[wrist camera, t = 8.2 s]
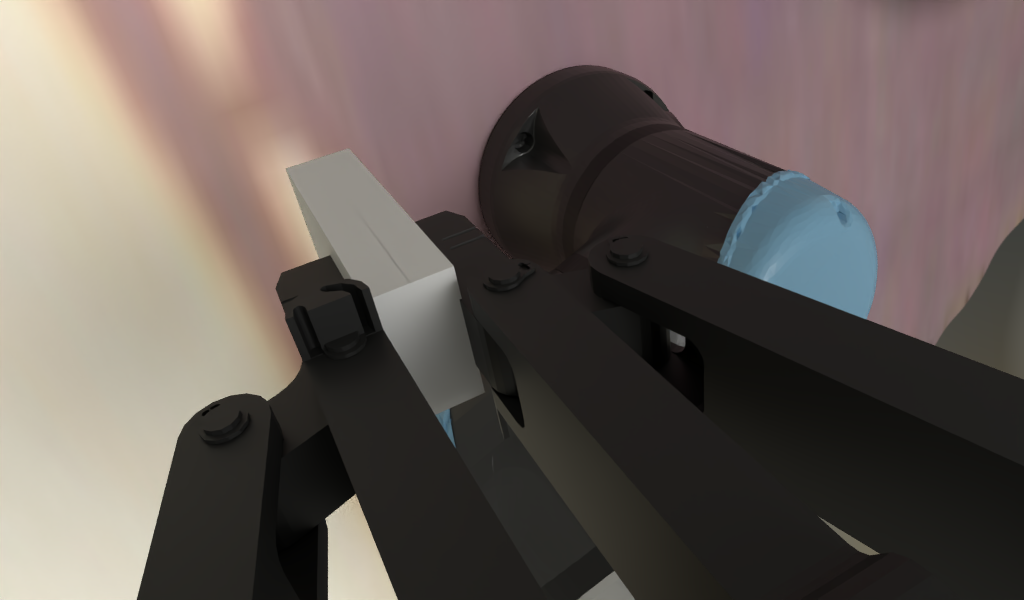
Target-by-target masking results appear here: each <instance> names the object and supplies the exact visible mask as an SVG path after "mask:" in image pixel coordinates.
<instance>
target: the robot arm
mask: <svg viewBox="0 0 1024 600" xmlns="http://www.w3.org/2000/svg"><path fill="white" fill-rule="evenodd" d="M286 171H287V174H288V176H289V179H290V182H291V184H292V187H293V190H294V192H295V195H296V198H297V200H298V203H299V206H300V208H301V211H302V214H303V216H304V219H305V222H306V225H307V227H308V230H309V233H310V235H311V238H312V241H313V243H314V246H315V249H316V251H317V254H318V257H319V259H318V260H315V261H313V262H310V263H307V264H304V265H302V266H299V267H296V268H294V269H291V270H288V271H285V272H283V273H281V275H280V278H279V281H278V283H277V286H276V291H277V294H278V296H279V299H280V301H281V304H282V306H283V309H284V311H285V320H286V322H287V325H288V327H289V329H290V332H291V334H292V336H293V339H294V341H295V343H296V346H297V348H298V350H299V353H300V355H301V357H302V365H301V369H300V371H299V373H298V374H297V376H296V378H295V379H294V380H293V381H292V382H291V383H290V384H289V385H288V387H286V388H285V389H284V390H282V391H281V392H280V393H279V394H277V395H276V396H274V397H273V398H271V399H270V400H268V401H266V400H265V399H264V398H262V397H261V396H258V395H253V394H247V393H246V394H239V395H232V396H228V397H226V398H223V399H220V400H218V401H215V402H213V403H211V404H210V405H208V406H206V407H205V408H203V409H202V410H200V411H199V412H197V413H196V414H195V415H194V416H193V417H192V418H191V419H190V420H189V421H188V422H187V423H186V424H185V425H184V427H183V429H182V431H181V433H180V435H179V437H178V440H177V444H176V448H175V452H174V456H173V460H172V464H171V468H170V471H169V475H168V479H167V483H166V487H165V491H164V495H163V499H162V503H161V507H160V511H159V515H158V519H157V523H156V526H155V530H154V534H153V538H152V542H151V546H150V550H149V554H148V558H147V562H146V566H145V570H144V574H143V578H142V581H141V585H140V589H139V593H138V597H137V600H328V528H327V524H326V520H325V518H326V517H328V516H329V515H330V514H331V513H333V512H334V511H335V510H336V509H337V508H339V507H340V506H341V505H342V504H344V503H345V502H346V501H347V500H349V499H350V498H351V497H352V496H354V495H355V494H356V495H357V498H358V500H359V503H360V505H361V508H362V510H363V513H364V515H365V518H366V520H367V523H368V526H369V528H370V531H371V533H372V536H373V538H374V541H375V543H376V546H377V548H378V551H379V553H380V556H381V558H382V561H383V563H384V566H385V568H386V571H387V573H388V576H389V578H390V581H391V583H392V586H393V588H394V591H395V593H396V596H397V598H398V600H1024V380H1023V379H1021V378H1018V377H1016V376H1013V375H1010V374H1008V373H1005V372H1003V371H1000V370H997V369H995V368H992V367H989V366H987V365H984V364H982V363H979V362H976V361H974V360H971V359H968V358H966V357H963V356H961V355H958V354H955V353H953V352H950V351H947V350H945V349H942V348H939V347H937V346H934V345H932V344H929V343H927V342H924V341H921V340H919V339H916V338H913V337H911V336H908V335H906V334H903V333H900V332H898V331H895V330H892V329H890V328H887V327H885V326H882V325H879V324H877V323H874V322H872V321H869V320H866V319H867V316H868V313H869V311H870V308H871V305H872V302H873V298H874V293H875V288H876V281H877V267H878V265H877V251H876V246H875V241H874V237H873V234H872V231H871V229H870V227H869V225H868V223H867V221H866V220H865V218H864V217H863V215H862V214H861V213H860V212H859V211H858V209H857V208H856V207H855V206H853V205H852V204H851V203H850V202H848V201H847V200H845V199H843V198H841V197H840V196H838V195H836V194H834V193H832V192H831V191H829V190H827V189H825V188H823V187H821V186H820V185H818V184H816V183H814V182H812V181H811V180H810V179H809V177H807V176H805V175H804V174H802V173H799V172H796V171H790V170H787V171H786V170H784V169H781V168H779V167H776V166H774V165H772V164H769V163H767V162H764V161H762V160H759V159H757V158H755V157H752V156H750V155H747V154H745V153H742V152H740V151H738V150H735V149H733V148H730V147H728V146H726V145H723V144H721V143H718V142H716V141H713V140H711V139H709V138H706V137H704V136H701V135H699V134H696V133H694V132H692V131H689V130H687V129H685V128H684V127H683V126H682V125H681V123H680V122H679V121H678V120H677V118H676V117H675V116H674V115H673V114H672V113H671V112H669V110H668V109H667V107H666V105H665V104H664V103H663V101H662V100H661V99H660V98H659V97H658V95H657V94H656V93H655V92H654V91H653V90H652V89H650V88H649V87H648V86H647V85H645V84H644V83H642V82H641V81H639V80H637V79H636V78H634V77H631V76H629V75H626V74H624V73H621V72H618V71H615V70H613V69H610V68H606V67H601V66H592V65H584V66H575V67H570V68H566V69H562V70H560V71H557V72H554V73H552V74H550V75H548V76H546V77H544V78H542V79H541V80H539V81H537V82H536V83H534V84H533V85H532V86H530V87H529V88H528V89H526V90H525V91H524V92H523V93H522V94H521V95H520V96H519V97H518V98H517V99H516V100H515V101H514V102H513V103H512V104H511V105H510V106H509V108H508V109H507V110H506V112H505V113H504V114H503V116H502V117H501V119H500V120H499V122H498V123H497V125H496V127H495V129H494V131H493V133H492V135H491V137H490V139H489V141H488V144H487V147H486V150H485V153H484V156H483V160H482V165H481V170H480V179H479V195H480V203H481V209H482V213H483V216H484V219H485V222H486V224H487V227H488V229H489V230H490V232H491V234H492V236H493V237H494V239H495V240H496V241H497V243H498V244H499V245H500V246H501V247H502V248H503V249H504V250H505V251H506V252H507V253H508V254H509V255H510V256H512V257H513V258H514V259H509V258H508V257H507V256H506V255H505V254H504V253H503V252H502V251H501V250H500V249H498V248H497V247H496V246H495V245H494V244H493V243H492V242H491V241H490V240H489V239H488V238H487V237H484V234H483V233H482V232H480V231H479V230H478V229H476V228H475V226H474V225H473V224H472V223H471V222H470V221H469V220H468V219H467V218H466V217H465V216H462V215H458V214H455V213H452V212H449V211H444V212H441V213H438V214H436V215H433V216H430V217H427V218H425V219H422V220H419V221H416V222H414V221H413V220H412V219H411V217H410V216H409V215H408V214H407V213H406V212H405V211H404V210H403V209H402V207H401V206H400V205H399V204H398V203H397V202H396V201H395V200H394V198H393V197H392V196H391V195H390V194H389V193H388V192H387V191H386V189H385V188H384V187H383V186H382V185H381V184H380V183H379V182H378V180H377V179H376V178H375V177H374V176H373V175H372V174H371V173H370V171H369V170H368V169H367V168H366V167H365V166H364V165H363V164H362V162H361V161H360V160H359V159H358V158H357V157H356V156H355V155H354V153H353V152H352V151H351V150H350V149H349V148H348V149H345V150H342V151H339V152H335V153H332V154H329V155H326V156H323V157H320V158H317V159H314V160H311V161H308V162H305V163H302V164H299V165H295V166H292V167H289V168H286ZM818 516H819V517H820V518H822V519H824V520H826V521H827V522H829V523H830V524H832V525H834V526H835V527H837V528H839V529H840V530H842V531H844V532H845V533H847V534H848V535H850V536H852V537H853V538H855V539H857V540H858V541H860V542H862V543H863V544H865V545H867V546H868V547H870V548H872V549H873V550H875V551H876V552H878V553H880V554H877V555H867V554H864V553H861V552H859V551H857V550H856V549H855V548H853V547H852V546H850V545H849V544H848V543H847V542H846V541H845V540H843V539H842V538H841V537H840V536H839V535H838V534H837V533H836V532H835V531H833V530H832V529H831V528H830V527H829V526H828V525H827V524H826V523H825V522H823V521H822V520H821V519H820V518H819V517H818Z"/></svg>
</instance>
